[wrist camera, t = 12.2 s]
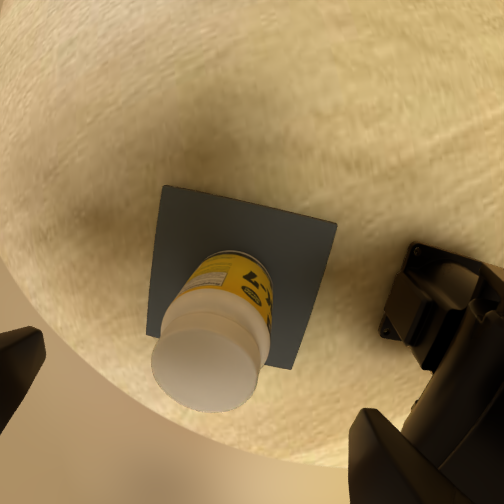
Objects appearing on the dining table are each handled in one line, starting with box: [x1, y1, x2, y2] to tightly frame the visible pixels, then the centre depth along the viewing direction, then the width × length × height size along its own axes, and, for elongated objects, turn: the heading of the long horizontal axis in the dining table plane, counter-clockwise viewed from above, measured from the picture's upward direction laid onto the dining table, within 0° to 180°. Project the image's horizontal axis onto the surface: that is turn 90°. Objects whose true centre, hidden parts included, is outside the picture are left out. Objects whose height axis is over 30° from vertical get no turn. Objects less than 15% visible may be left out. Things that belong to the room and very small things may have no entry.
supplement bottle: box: [151, 250, 273, 413], centre depth 15 cm, size 5×5×8 cm
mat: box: [146, 185, 337, 370], centre depth 19 cm, size 10×10×1 cm
